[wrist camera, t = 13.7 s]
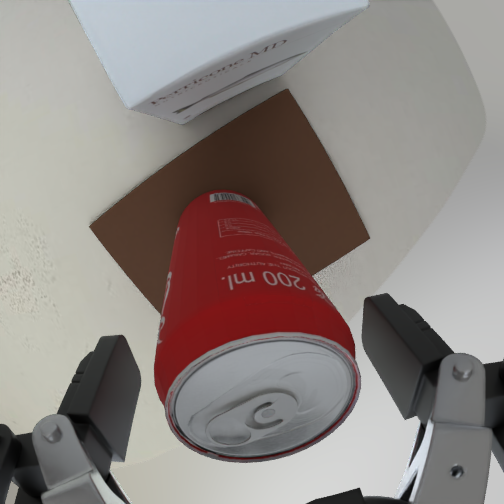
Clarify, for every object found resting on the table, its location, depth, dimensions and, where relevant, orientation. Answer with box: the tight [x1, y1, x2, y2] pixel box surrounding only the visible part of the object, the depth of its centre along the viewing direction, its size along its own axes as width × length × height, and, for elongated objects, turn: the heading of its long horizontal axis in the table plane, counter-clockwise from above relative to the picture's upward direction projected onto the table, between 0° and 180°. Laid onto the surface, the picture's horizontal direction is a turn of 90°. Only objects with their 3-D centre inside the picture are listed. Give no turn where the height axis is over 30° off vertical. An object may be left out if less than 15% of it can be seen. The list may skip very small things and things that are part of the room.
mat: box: [89, 88, 370, 314], centre depth 21 cm, size 16×12×1 cm
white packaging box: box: [68, 0, 370, 125], centre depth 11 cm, size 7×7×13 cm
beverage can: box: [154, 190, 361, 463], centre depth 14 cm, size 6×6×15 cm
